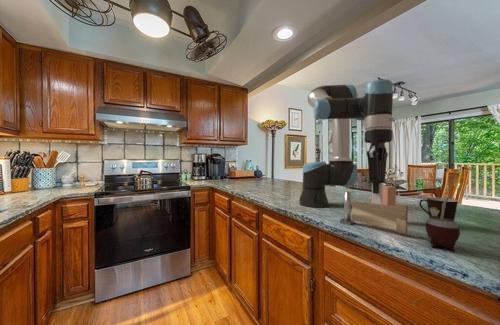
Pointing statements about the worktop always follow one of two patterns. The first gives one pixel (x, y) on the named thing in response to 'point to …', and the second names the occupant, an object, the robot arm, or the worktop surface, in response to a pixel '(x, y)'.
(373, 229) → the worktop surface
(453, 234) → the mate gourd
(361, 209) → the gate
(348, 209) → the hinge post
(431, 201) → the coffee mug
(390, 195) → the post
